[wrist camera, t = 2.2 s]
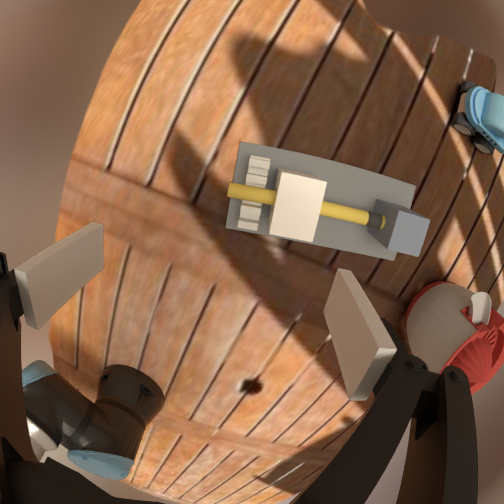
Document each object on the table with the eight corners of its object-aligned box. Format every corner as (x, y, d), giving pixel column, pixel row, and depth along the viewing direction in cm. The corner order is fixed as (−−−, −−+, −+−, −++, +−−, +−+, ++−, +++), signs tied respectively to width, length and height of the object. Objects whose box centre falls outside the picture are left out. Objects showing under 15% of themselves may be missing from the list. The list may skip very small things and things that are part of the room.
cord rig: (225, 226, 40) (217, 245, 32) (240, 141, 36) (234, 139, 28) (392, 259, 41) (415, 282, 33) (414, 185, 36) (443, 195, 29)
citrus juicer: (470, 256, 40) (541, 310, 21) (452, 334, 46) (499, 398, 27) (402, 264, 41) (470, 338, 22) (388, 349, 47) (427, 429, 28)
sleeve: (268, 218, 38) (269, 234, 32) (278, 167, 36) (281, 172, 29) (304, 225, 38) (312, 242, 32) (315, 175, 36) (327, 181, 29)
